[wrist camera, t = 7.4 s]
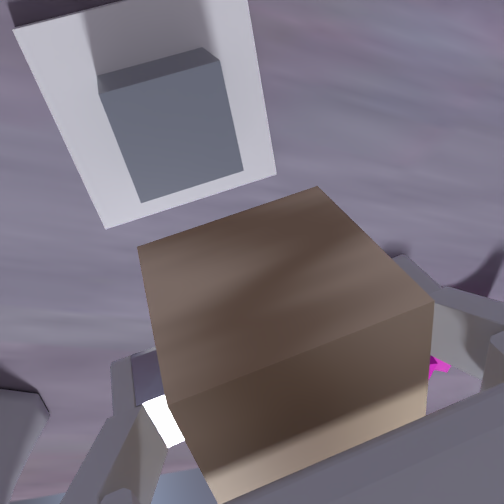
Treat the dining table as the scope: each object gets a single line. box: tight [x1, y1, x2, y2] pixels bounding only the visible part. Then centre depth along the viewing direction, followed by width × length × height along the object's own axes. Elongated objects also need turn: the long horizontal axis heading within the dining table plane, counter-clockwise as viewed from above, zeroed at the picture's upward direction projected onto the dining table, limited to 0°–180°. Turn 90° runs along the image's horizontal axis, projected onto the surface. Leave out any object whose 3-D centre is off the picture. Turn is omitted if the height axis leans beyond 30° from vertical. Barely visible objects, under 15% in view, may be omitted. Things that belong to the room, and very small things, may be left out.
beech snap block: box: [137, 186, 435, 504], centre depth 11 cm, size 5×5×5 cm
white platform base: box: [13, 0, 277, 229], centre depth 25 cm, size 12×12×5 cm
